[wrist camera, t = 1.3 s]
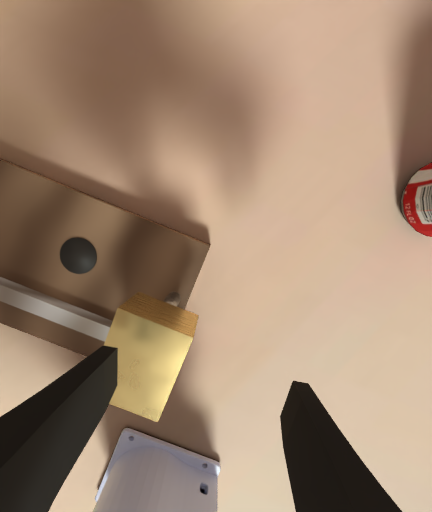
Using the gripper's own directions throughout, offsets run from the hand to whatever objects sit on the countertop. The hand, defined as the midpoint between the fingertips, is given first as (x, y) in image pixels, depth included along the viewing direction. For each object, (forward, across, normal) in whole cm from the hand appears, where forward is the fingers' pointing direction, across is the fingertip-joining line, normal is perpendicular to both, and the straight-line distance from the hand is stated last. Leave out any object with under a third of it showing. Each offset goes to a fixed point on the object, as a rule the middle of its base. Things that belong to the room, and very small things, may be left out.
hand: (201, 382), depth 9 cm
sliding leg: (+7, +4, +4) cm, 9 cm away
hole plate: (+10, +14, 0) cm, 17 cm away
